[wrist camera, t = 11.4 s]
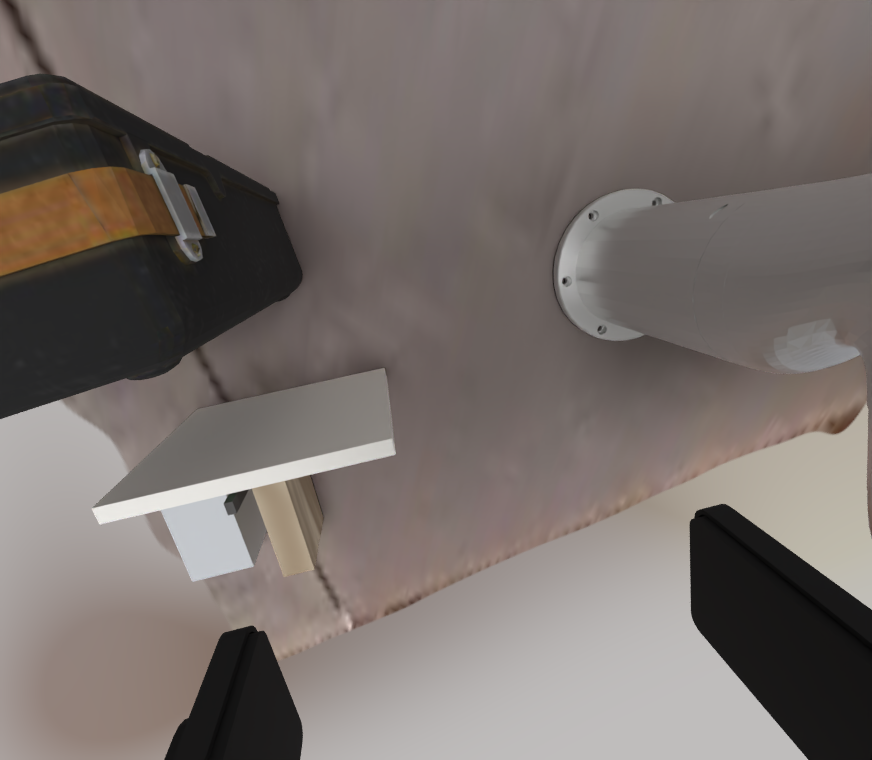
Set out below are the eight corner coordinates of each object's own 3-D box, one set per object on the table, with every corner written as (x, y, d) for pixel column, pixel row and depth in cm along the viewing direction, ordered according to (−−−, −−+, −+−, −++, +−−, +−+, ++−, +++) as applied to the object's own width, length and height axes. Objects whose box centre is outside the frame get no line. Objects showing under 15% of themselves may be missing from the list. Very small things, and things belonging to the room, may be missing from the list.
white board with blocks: (384, 367, 39) (392, 438, 25) (414, 494, 43) (435, 618, 29) (160, 416, 37) (31, 522, 23) (212, 543, 41) (129, 699, 27)
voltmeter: (274, 175, 34) (37, 5, 10) (317, 287, 36) (214, 367, 12) (69, 238, 33) (-716, 223, 9) (128, 348, 36) (-357, 554, 12)
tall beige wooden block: (290, 412, 39) (249, 497, 26) (323, 517, 42) (301, 640, 29) (262, 418, 38) (206, 507, 25) (297, 524, 42) (264, 650, 29)
